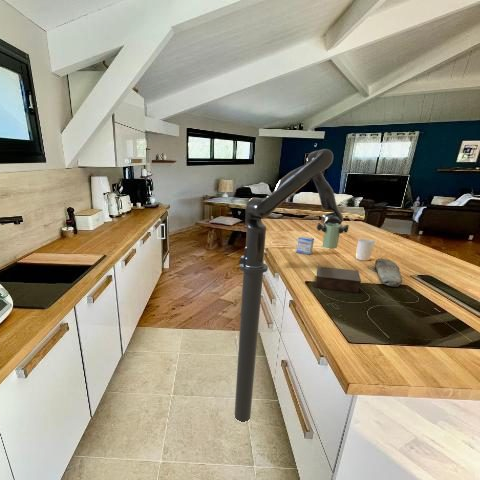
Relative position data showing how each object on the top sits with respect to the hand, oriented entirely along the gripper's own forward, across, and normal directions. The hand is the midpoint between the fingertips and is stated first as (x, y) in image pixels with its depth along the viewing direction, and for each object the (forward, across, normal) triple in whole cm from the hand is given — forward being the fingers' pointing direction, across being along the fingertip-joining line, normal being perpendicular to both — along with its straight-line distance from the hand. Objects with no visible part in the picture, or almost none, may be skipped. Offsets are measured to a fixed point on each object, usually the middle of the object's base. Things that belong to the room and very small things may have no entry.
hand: (332, 230), depth 139 cm
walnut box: (+15, +4, +20) cm, 25 cm away
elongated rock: (-7, +26, +20) cm, 34 cm away
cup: (-2, 0, +8) cm, 8 cm away
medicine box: (-33, -12, +20) cm, 41 cm away
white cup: (-32, +18, +20) cm, 42 cm away
